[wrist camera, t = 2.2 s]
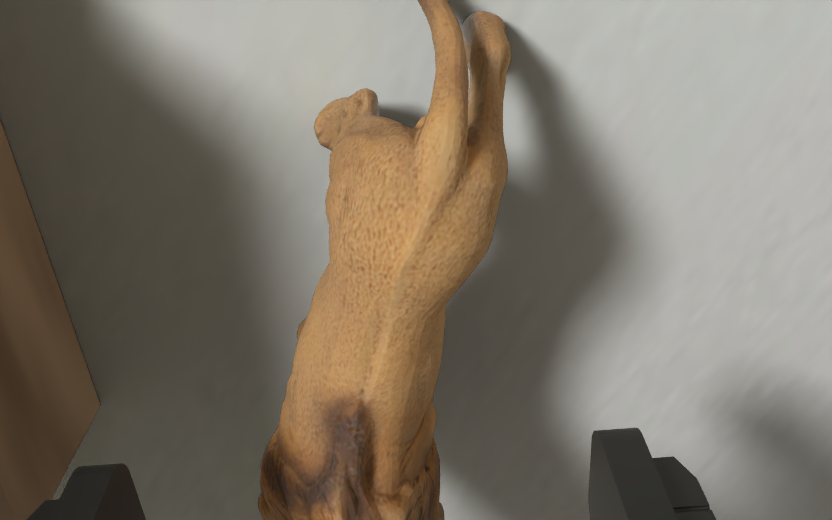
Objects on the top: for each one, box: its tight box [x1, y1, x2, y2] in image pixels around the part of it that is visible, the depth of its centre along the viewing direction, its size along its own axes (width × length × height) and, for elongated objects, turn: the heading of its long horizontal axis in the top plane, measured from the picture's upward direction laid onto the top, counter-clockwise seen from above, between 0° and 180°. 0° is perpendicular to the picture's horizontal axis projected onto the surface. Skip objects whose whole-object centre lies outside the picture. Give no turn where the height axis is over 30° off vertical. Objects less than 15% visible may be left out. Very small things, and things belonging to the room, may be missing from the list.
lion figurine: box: [258, 0, 511, 520], centre depth 16 cm, size 15×5×9 cm, turn 178°
